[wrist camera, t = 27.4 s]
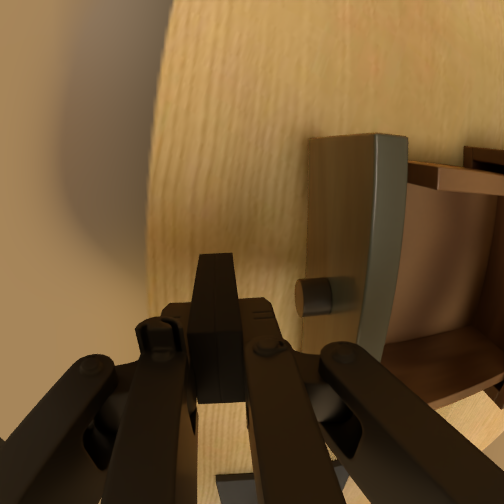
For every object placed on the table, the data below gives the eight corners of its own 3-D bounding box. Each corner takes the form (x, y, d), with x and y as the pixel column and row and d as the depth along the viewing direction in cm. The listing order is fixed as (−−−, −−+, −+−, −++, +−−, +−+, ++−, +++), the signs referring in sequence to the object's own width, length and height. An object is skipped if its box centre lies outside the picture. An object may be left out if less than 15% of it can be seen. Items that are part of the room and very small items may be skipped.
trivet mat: (223, 510, 26) (224, 515, 25) (215, 475, 23) (215, 481, 22) (336, 494, 27) (338, 500, 26) (352, 456, 24) (354, 462, 24)
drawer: (280, 368, 18) (306, 457, 12) (283, 137, 14) (334, 128, 8) (464, 333, 20) (517, 383, 13) (494, 160, 16) (573, 176, 9)
